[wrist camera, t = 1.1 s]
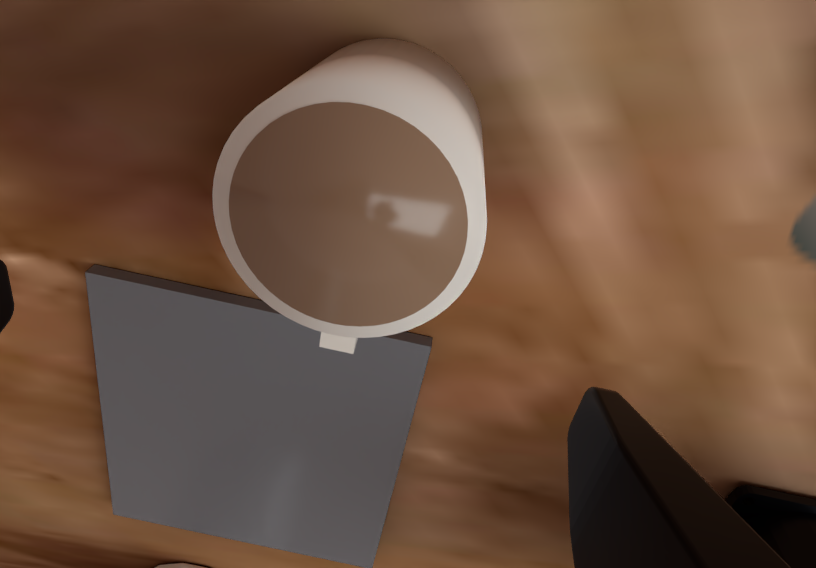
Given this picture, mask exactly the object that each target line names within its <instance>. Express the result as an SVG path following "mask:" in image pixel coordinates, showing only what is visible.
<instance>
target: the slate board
mask: <svg viewBox="0 0 816 568" xmlns="http://www.w3.org/2000/svg"><path fill="white" fill-rule="evenodd" d="M85 275H86V284H87V292H88V301H89V310H90V318H91V327H92V335H93V344H94V352H95V361H96V370H97V378H98V387H99V395H100V404H101V412H102V421H103V429H104V438H105V447H106V455H107V464H108V472H109V481H110V489H111V498H112V507H113V514H114V515H119V516H124V517H128V518H133V519H138V520H142V521H147V522H152V523H157V524H161V525H166V526H171V527H176V528H180V529H185V530H190V531H194V532H199V533H204V534H209V535H213V536H218V537H223V538H228V539H232V540H237V541H242V542H247V543H251V544H256V545H261V546H265V547H270V548H275V549H280V550H284V551H289V552H294V553H299V554H303V555H308V556H313V557H318V558H322V559H327V560H332V561H336V562H341V563H346V564H351V565H355V566H360V567H365V568H372V567H373V563H374V559H375V555H376V552H377V548H378V544H379V541H380V537H381V533H382V529H383V526H384V522H385V518H386V514H387V511H388V507H389V503H390V499H391V496H392V492H393V488H394V485H395V481H396V477H397V473H398V470H399V466H400V462H401V458H402V455H403V451H404V447H405V444H406V440H407V436H408V432H409V429H410V425H411V421H412V417H413V414H414V410H415V406H416V403H417V399H418V395H419V391H420V388H421V384H422V380H423V376H424V373H425V369H426V365H427V362H428V358H429V354H430V350H431V346H432V337H427V336H423V335H418V334H414V333H409V332H401V333H397V334H393V335H388V336H382V337H370V338H358V340H357V344H356V347H355V350H354V354H350V353H346V352H341V351H336V350H332V349H327V348H323V347H319V344H320V337H321V332H320V331H316V330H314V329H311V328H308V327H306V326H303V325H301V324H299V323H297V322H295V321H293V320H291V319H289V318H287V317H285V316H284V315H282V314H280V313H279V312H277V311H276V310H274V309H273V308H271V307H270V306H269V305H268V304H266V303H265V302H264V301H261V300H257V299H252V298H247V297H243V296H238V295H234V294H229V293H224V292H220V291H215V290H210V289H206V288H201V287H197V286H192V285H187V284H183V283H178V282H174V281H169V280H164V279H160V278H155V277H151V276H146V275H141V274H137V273H132V272H127V271H123V270H118V269H114V268H109V267H104V266H100V265H95V264H94V265H93V266H92V267H91V268H89V269H88V270H87V271H86V272H85Z"/></svg>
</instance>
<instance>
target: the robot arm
mask: <svg viewBox="0 0 816 568" xmlns="http://www.w3.org/2000/svg"><path fill="white" fill-rule="evenodd" d="M13 311H14V301H13V296H12V291H11V286H10V281H9V276H8V271H7V267H6V265H5V264H4V262H3V261H2V260H0V333H1V331H2V330H3V329H4V327H5V326H6V325H7V323H8V322H9V321H10V319H11V317H12V315H13ZM568 479H569V518H570V535H571V543H572V551H573V559H574V566H575V568H816V500H815V499H810V498H805V497H801V496H796V495H791V494H787V493H782V492H777V491H773V490H768V489H763V488H759V487H754V486H747V485H745V486H740V487H738V488H736V489H735V490H734V491H733V492H732V493H731V494H730V496H729V497H728V499H727V500H726V501H725V500H724V499H723V498H722V497H721V496H720V495H719V494H718V493H717V492H716V491H715V490H714V489H713V488H712V487H711V486H710V485H709V484H708V483H707V482H706V481H705V480H704V479H703V478H702V477H701V476H700V475H699V474H698V473H697V472H696V471H695V470H694V469H693V468H692V467H691V466H690V465H689V464H688V463H687V462H686V461H685V460H684V459H683V458H682V457H681V456H680V455H679V454H678V453H677V452H676V451H675V450H674V449H673V448H672V447H671V446H670V445H669V444H668V443H667V442H666V441H665V440H664V439H663V438H662V437H661V436H660V435H659V434H658V433H657V432H656V431H655V430H654V429H653V427H652V426H651V425H650V424H649V423H648V422H647V421H646V420H645V419H644V418H643V417H642V416H641V415H640V414H639V413H638V412H637V411H636V410H635V409H634V408H633V407H632V406H631V405H630V404H629V403H628V402H627V401H626V400H625V399H624V398H623V397H622V396H621V395H620V394H619V393H617V392H615V391H612V390H607V389H603V388H598V387H591V388H589V389H588V390H587V391H586V392H585V394H584V396H583V398H582V400H581V403H580V405H579V407H578V409H577V411H576V413H575V415H574V418H573V420H572V422H571V424H570V427H569V431H568Z"/></svg>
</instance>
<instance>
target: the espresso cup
mask: <svg viewBox="0 0 816 568" xmlns="http://www.w3.org/2000/svg"><path fill="white" fill-rule="evenodd" d="M212 199H213V213H214V219H215V224H216V229H217V232H218V235H219V238H220V241H221V244H222V246H223V248H224V250H225V252H226V255H227V257H228V259H229V260H230V262H231V264H232V265H233V267H234V268H235V270H236V272H237V273H238V274H239V276H240V277H241V278H242V279H243V281H244V282H245V283H246V285H247V286H248V287H249V288H250V289H251V290H252V291H253V292H254V293H255V294H256V295H257V296H258V297H259V298H260V299H262V300H263V301H264V302H265V303H266V304H268V305H269V306H270V307H271V308H273V309H274V310H276V311H277V312H279V313H280V314H282V315H284V316H285V317H287V318H289V319H291V320H293V321H295V322H297V323H299V324H301V325H303V326H306V327H308V328H311V329H314V330H316V331H320V332H321V337H320V344H319V347H323V348H327V349H332V350H336V351H341V352H346V353H350V354H354V350H355V347H356V344H357V340H358V338H370V337H382V336H388V335H393V334H397V333H401V332H404V331H407V330H410V329H413V328H415V327H417V326H420V325H422V324H424V323H426V322H427V321H429V320H431V319H432V318H434V317H436V316H437V315H439V314H440V313H441V312H443V311H444V310H445V309H446V308H448V307H449V306H450V305H451V304H452V303H453V302H454V301H455V300H456V299H457V298H458V297H459V296H460V295H461V293H462V292H463V291H464V289H465V288H466V287H467V285H468V284H469V282H470V280H471V279H472V277H473V275H474V273H475V271H476V270H477V267H478V264H479V262H480V259H481V256H482V253H483V249H484V244H485V240H486V229H487V212H486V194H485V176H484V158H483V140H482V126H481V120H480V115H479V111H478V108H477V105H476V102H475V99H474V97H473V95H472V93H471V91H470V89H469V87H468V86H467V85H466V83H465V82H464V80H463V79H462V77H461V76H460V75H459V74H458V73H457V71H456V70H455V69H454V68H453V67H452V66H451V65H450V64H449V63H447V62H446V61H445V60H444V59H443V58H441V57H440V56H438V55H437V54H435V53H434V52H432V51H430V50H428V49H426V48H424V47H422V46H420V45H418V44H414V43H411V42H408V41H404V40H397V39H391V38H377V39H369V40H363V41H360V42H356V43H353V44H350V45H348V46H346V47H344V48H341V49H339V50H338V51H336V52H335V53H333V54H332V55H330V56H329V57H327V58H326V59H324V60H323V61H321V62H320V63H318V64H317V65H316V66H314V67H313V68H311V69H310V70H308V71H307V72H306V73H304V74H303V75H301V76H300V77H298V78H297V79H295V80H294V81H293V82H291V83H290V84H288V85H287V86H285V87H284V88H282V89H281V90H280V91H278V92H277V93H275V94H274V95H272V96H271V97H270V98H268V99H267V100H265V101H264V102H262V103H261V104H259V105H258V106H257V107H256V108H255V109H253V110H252V111H251V112H250V113H249V114H248V115H247V116H245V117H244V118H243V120H242V121H241V122H240V123H239V124H238V126H237V127H236V128H235V129H234V131H233V132H232V134H231V135H230V137H229V139H228V140H227V142H226V144H225V145H224V147H223V150H222V152H221V155H220V157H219V160H218V163H217V167H216V171H215V175H214V181H213V193H212Z"/></svg>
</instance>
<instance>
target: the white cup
mask: <svg viewBox="0 0 816 568" xmlns="http://www.w3.org/2000/svg"><path fill="white" fill-rule="evenodd" d="M155 568H207V567H202V566H197V565H192V564H187V563H174V564H164V565H158V566H156V567H155Z"/></svg>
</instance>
